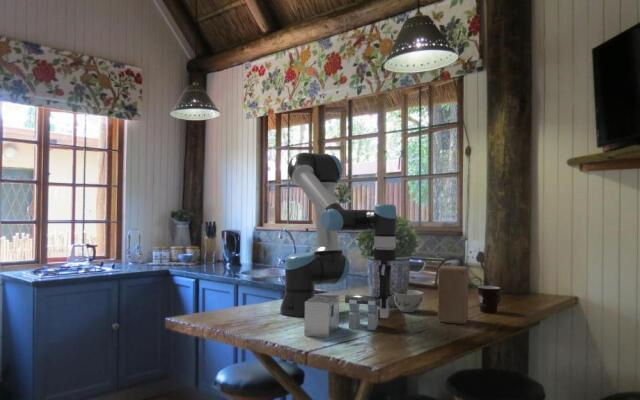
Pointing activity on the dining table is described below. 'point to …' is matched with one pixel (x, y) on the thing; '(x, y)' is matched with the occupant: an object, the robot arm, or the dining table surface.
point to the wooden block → (453, 294)
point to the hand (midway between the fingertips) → (384, 316)
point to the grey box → (321, 315)
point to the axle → (365, 299)
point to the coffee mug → (488, 298)
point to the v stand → (355, 315)
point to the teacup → (408, 300)
